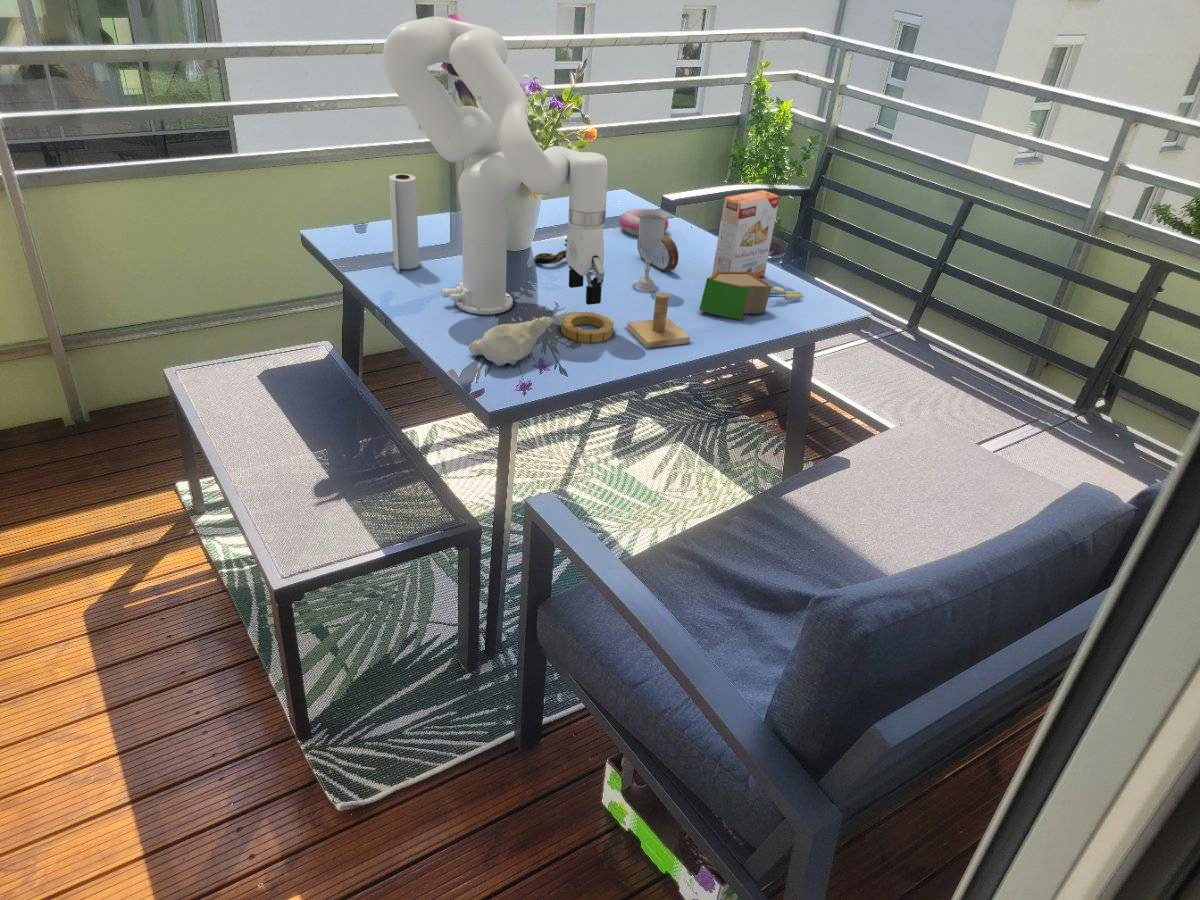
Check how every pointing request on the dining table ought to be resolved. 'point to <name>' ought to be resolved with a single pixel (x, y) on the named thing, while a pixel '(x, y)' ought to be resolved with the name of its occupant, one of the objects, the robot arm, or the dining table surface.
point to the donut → (633, 221)
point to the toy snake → (550, 257)
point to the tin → (662, 254)
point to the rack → (658, 327)
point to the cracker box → (746, 233)
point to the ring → (587, 335)
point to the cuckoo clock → (738, 294)
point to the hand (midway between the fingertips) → (584, 295)
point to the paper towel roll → (404, 221)
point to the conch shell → (510, 341)
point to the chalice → (650, 242)
